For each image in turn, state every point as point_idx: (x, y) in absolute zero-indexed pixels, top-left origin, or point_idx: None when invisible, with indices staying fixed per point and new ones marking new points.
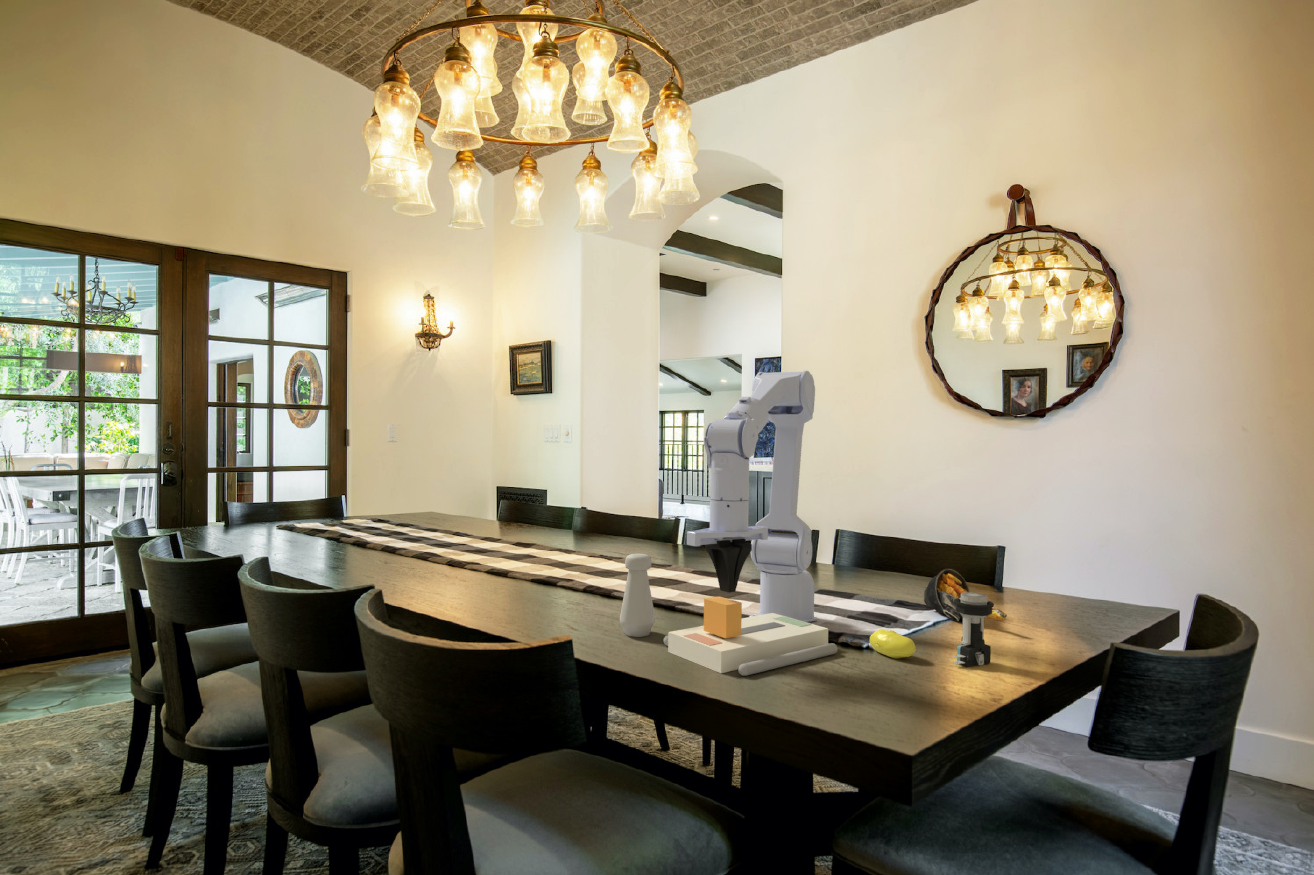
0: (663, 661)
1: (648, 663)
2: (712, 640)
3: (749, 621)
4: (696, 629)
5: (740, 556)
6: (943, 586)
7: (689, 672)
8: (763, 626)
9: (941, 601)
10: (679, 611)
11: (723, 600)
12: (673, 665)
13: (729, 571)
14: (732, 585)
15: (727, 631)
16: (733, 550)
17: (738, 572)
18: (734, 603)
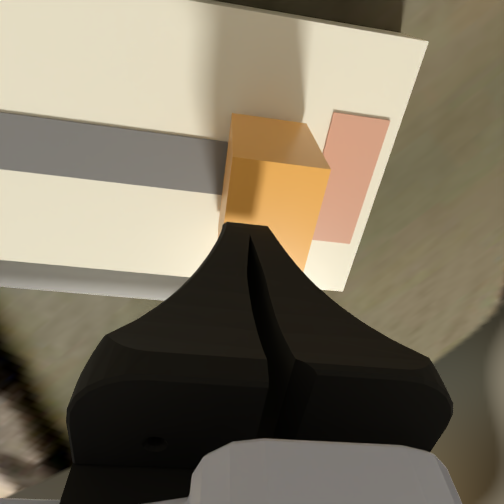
0: (402, 217)
1: (438, 228)
2: (337, 151)
3: (47, 228)
4: None
5: (240, 323)
6: None
7: (444, 108)
8: (50, 151)
9: None
10: (59, 437)
11: None
12: (416, 179)
13: (309, 279)
14: (259, 235)
15: (303, 129)
16: (380, 362)
17: (226, 264)
18: (273, 168)
